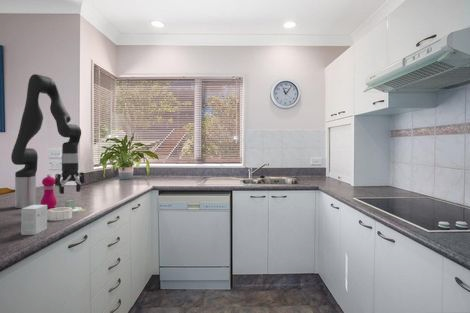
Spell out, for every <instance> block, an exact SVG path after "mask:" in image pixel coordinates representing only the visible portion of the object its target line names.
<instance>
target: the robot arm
mask: <svg viewBox="0 0 470 313" xmlns="http://www.w3.org/2000/svg"><path fill="white" fill-rule="evenodd" d="M40 94H46V95H47V96H48V97H49V99H50V106H49V107H50V108H49V109H50V114H52V117H53V118H54V120H55V124H56V129H57V132H58V134H59V135H60V136H61V137H63V138H69V139H68V141H66V142H63V143H62V146H61V147H62V150H61V152H62V153H61V154H62V155H61V173H56V174H55V178H54V179H55V184H54V186H55V187H58V192H59V193H60V195H64V194H65V185H66V184H67V183H68V182H74V183H75V192H76V193H77V192H78V193H79V192H81V191H82V190H81V188H82V186H81V185H82V184H85V173H84V172H82V171H80V172H79V154H78V153H79V151H78V150H79V144H80V140H81V137H82V129H81V128H80V126H79V125H78V124H70V122H71V120H72V119H71V116H70V114H69V112H68V111H67V109H66V107H65V106H64V103H63V101H62V99H61V94H60V93H59V88H58V87H57V84H56V81H55V80H54V79H53V78H52V77H48V76H44V75H42V74H38V73H37V74H36V73H35V74H34V73H33V74H32V75H31V76H30V77H29V80H28V84H27V91H26V99H25V105H24V109H23V112H22V116H21V120H20V124H19V131H18V134H17V137H16V141H15V143H14V146H13V148H12V152H11V162H12V164H13V165H16V166H17V165H18V166H21V165H24V167H22V168H21V169H20V170H17V171H15V173H14V174H15V176H14V182H15V183H14V186H15V188H14V189H15V190H14V206H15V207H14V208H15V209H22V208H25V207H28V206H31V205H36V201H37V200H36V199H37V198H36V197H37V196H36V188H37V186H36V185H37V182H36V178H37V176H36V174H37V172H38V162H39V160H38V158H39V156H38V152H37V150H36V149H35V148H32V147H31V148H30V147H29V148H28V147H27V146H28V143H29V142H30V141H31V140H32V139H33V138H34V137H35V135H37V134H38V133H39V131H40V130H41V128H42V125H43V121H44V115H43V112H42V110H41V106H40V104H39V97H40Z"/></svg>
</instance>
